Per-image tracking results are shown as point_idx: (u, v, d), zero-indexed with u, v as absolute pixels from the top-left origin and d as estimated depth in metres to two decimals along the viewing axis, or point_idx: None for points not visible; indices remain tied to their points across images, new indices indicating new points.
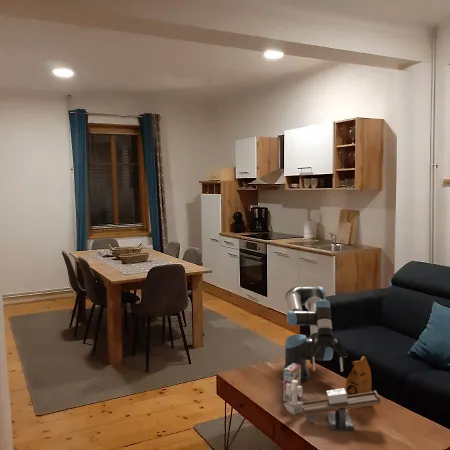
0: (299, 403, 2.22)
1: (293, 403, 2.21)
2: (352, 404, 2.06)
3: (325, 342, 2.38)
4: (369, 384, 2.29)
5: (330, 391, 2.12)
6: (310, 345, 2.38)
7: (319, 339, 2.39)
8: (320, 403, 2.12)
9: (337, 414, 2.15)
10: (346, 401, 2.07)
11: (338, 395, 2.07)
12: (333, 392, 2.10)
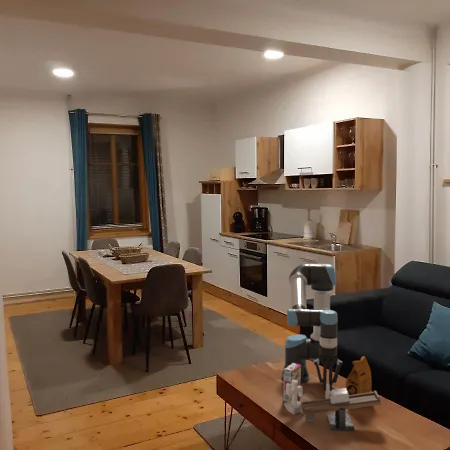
0: (299, 403, 2.22)
1: (293, 403, 2.21)
2: (353, 404, 2.06)
3: (327, 362, 2.08)
4: (369, 384, 2.29)
5: (332, 391, 2.12)
6: (317, 371, 2.09)
7: (321, 359, 2.08)
8: (320, 403, 2.12)
9: (337, 414, 2.15)
10: (348, 401, 2.07)
11: (340, 395, 2.07)
12: (335, 392, 2.10)
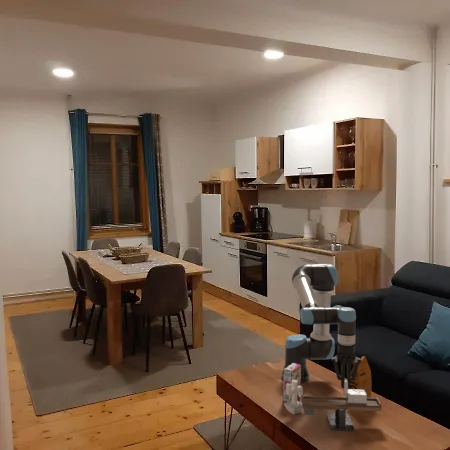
0: (299, 403, 2.22)
1: (293, 403, 2.21)
2: (353, 406, 2.06)
3: (345, 360, 2.08)
4: (369, 384, 2.29)
5: (350, 390, 2.11)
6: (335, 369, 2.08)
7: (339, 356, 2.08)
8: (320, 400, 2.12)
9: (337, 414, 2.15)
10: (365, 403, 2.07)
11: (359, 395, 2.07)
12: (353, 392, 2.09)
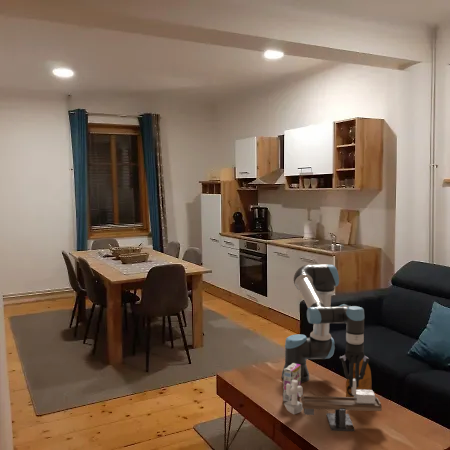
0: (299, 403, 2.22)
1: (293, 403, 2.21)
2: (353, 406, 2.06)
3: (354, 359, 2.07)
4: (369, 383, 2.29)
5: (358, 390, 2.11)
6: (344, 368, 2.08)
7: (347, 355, 2.07)
8: (320, 400, 2.12)
9: (337, 414, 2.15)
10: (373, 403, 2.07)
11: (367, 395, 2.06)
12: (361, 392, 2.09)
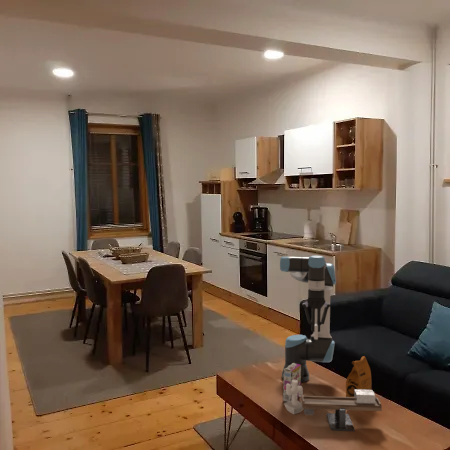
0: (299, 403, 2.22)
1: (293, 403, 2.21)
2: (353, 406, 2.06)
3: (315, 305, 2.20)
4: (369, 384, 2.29)
5: (358, 390, 2.11)
6: (306, 313, 2.20)
7: (309, 301, 2.20)
8: (320, 400, 2.12)
9: (337, 414, 2.15)
10: (373, 403, 2.07)
11: (367, 395, 2.06)
12: (361, 392, 2.09)
